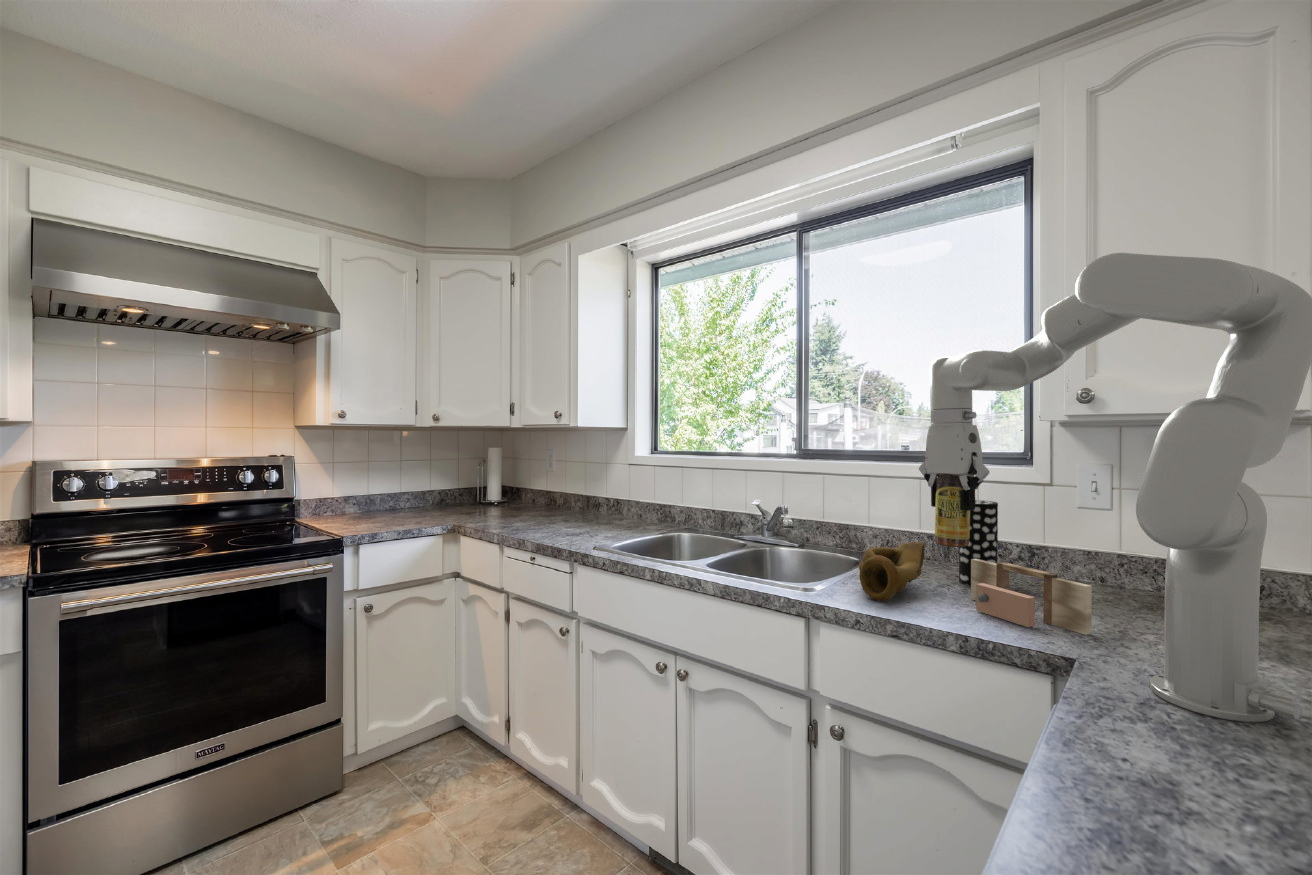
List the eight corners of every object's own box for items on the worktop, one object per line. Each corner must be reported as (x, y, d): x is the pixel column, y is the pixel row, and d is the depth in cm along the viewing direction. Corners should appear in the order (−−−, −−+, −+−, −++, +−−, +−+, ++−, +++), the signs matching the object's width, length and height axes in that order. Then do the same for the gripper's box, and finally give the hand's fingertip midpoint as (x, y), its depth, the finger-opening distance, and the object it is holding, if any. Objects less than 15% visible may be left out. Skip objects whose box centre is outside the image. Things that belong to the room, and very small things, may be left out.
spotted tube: (996, 589, 137) (996, 505, 136) (957, 584, 141) (957, 502, 141) (998, 581, 144) (998, 501, 143) (960, 577, 148) (960, 499, 148)
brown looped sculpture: (966, 561, 134) (906, 557, 123) (944, 610, 136) (883, 610, 125) (903, 526, 149) (844, 519, 138) (884, 570, 152) (825, 567, 141)
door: (1034, 625, 111) (1035, 597, 111) (1023, 627, 110) (1024, 599, 110) (983, 609, 121) (983, 582, 121) (972, 610, 120) (972, 584, 120)
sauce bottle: (934, 546, 115) (932, 446, 115) (935, 541, 120) (933, 446, 121) (971, 549, 112) (969, 446, 112) (971, 543, 117) (969, 446, 117)
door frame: (1092, 633, 107) (1092, 582, 107) (1085, 635, 107) (1085, 583, 106) (976, 598, 130) (976, 555, 129) (970, 599, 129) (970, 556, 129)
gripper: (1004, 417, 110) (1006, 511, 110) (929, 420, 126) (931, 502, 126) (976, 417, 107) (977, 514, 107) (903, 420, 123) (904, 504, 123)
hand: (952, 507), depth 116 cm, fingers closed on sauce bottle, 6 cm apart
